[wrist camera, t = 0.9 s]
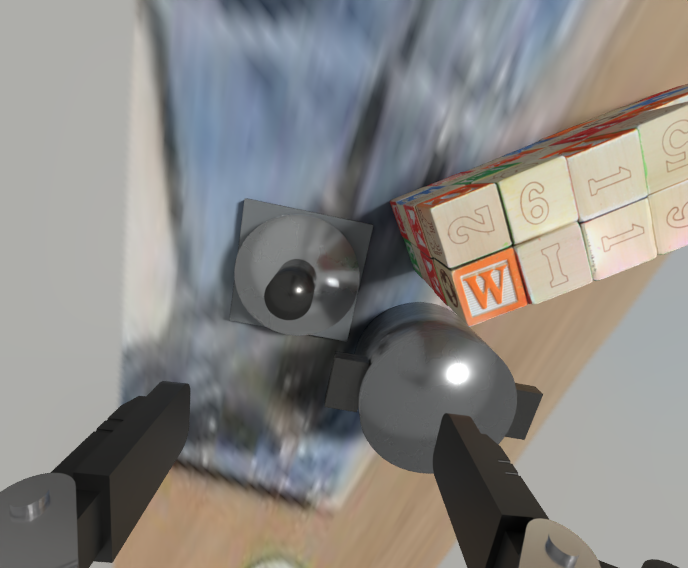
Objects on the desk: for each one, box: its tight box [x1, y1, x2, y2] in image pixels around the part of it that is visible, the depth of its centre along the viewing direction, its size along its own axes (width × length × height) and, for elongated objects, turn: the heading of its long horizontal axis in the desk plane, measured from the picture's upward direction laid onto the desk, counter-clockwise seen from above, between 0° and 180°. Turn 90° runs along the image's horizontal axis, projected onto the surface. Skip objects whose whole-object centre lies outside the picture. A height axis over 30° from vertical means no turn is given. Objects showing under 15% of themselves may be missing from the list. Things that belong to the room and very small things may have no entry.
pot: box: [325, 302, 543, 473], centre depth 26 cm, size 11×15×7 cm
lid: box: [234, 214, 359, 336], centre depth 24 cm, size 10×10×6 cm
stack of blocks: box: [390, 84, 688, 327], centre depth 20 cm, size 21×6×12 cm, turn 112°
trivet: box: [230, 199, 373, 341], centre depth 27 cm, size 10×10×1 cm
